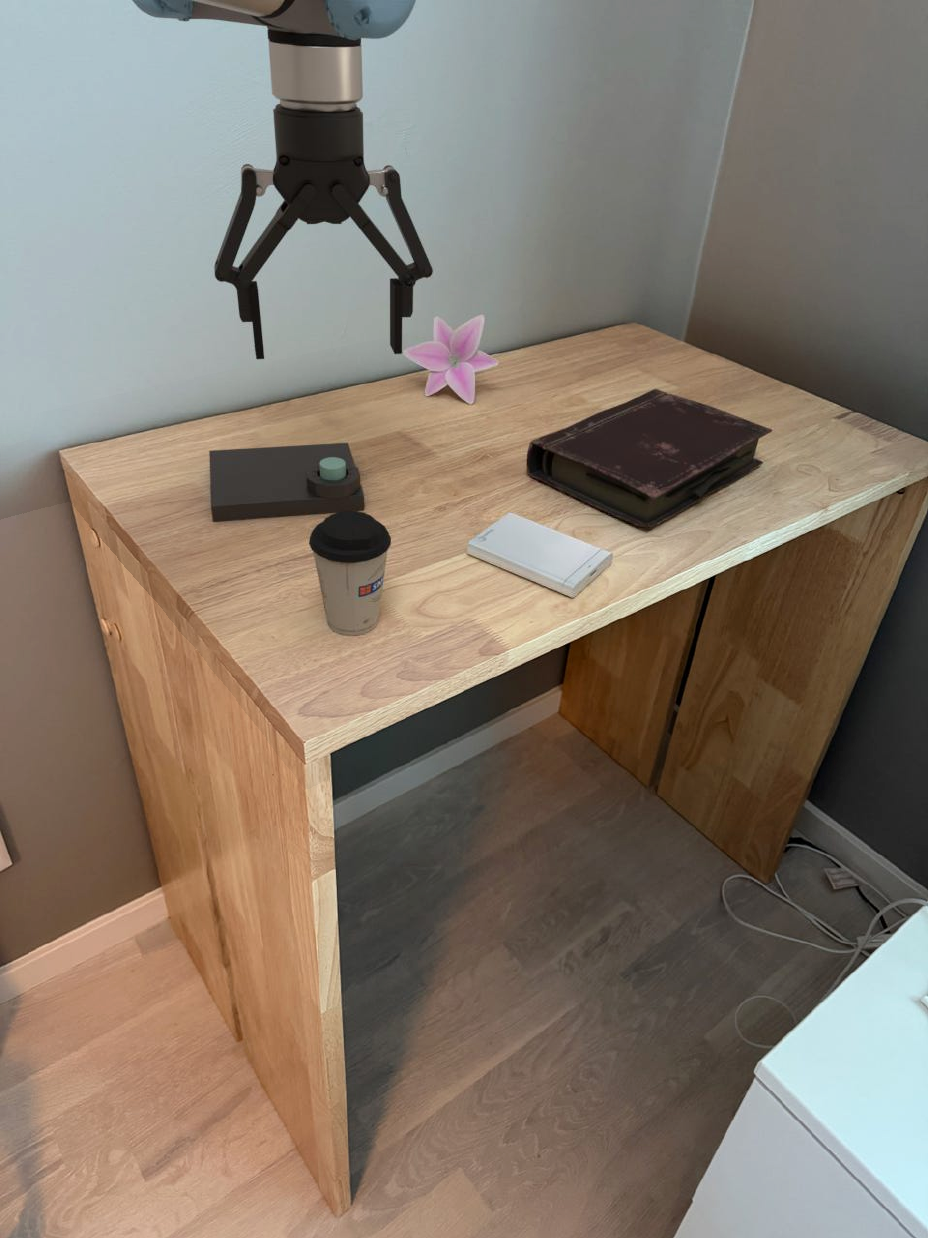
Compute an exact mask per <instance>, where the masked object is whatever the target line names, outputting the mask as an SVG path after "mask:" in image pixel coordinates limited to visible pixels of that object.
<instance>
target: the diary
mask: <svg viewBox="0 0 928 1238" xmlns="http://www.w3.org/2000/svg"><path fill="white" fill-rule="evenodd" d="M772 432H773V429H772V428H770V427H767V426H763V425H761V424H758V423H756V422H754V421H751V420H748V419H745V418H743V417H740V416H738V415H735V414H733V413H730V412H727V411H724V410H722V409H719V408H717V407H714V406H711V405H708V404H705V403H702V402H698V401H695V400H692V399H690V398H689V399H688V398H686V397H683V396H679V395H676V394H672V393H668V392H667V391H663V390H661V389H658V388H654V389H651V390H649V391H647V392H645V393H643V394H640V395H639V396H636V397H634V398H632V399H630V400H628V401H626V402H622V403H621V404H618V405H615V406H612V407H610V408H607V409H605V410H602V411H599V412H596V413H594V414H592V415H591V416H588V417H586V418H584V419H582V420H580V421H578V422H576V423H573V424H571V425H569V426H567V427H565V428H562V429H559V430H557V431H554V432H551V433H548V434H546V435H543V436H540V437H537V438H535V439H533V440H531V441H530V442H529V445H528V447H527V452H526V462H525V463H526V473H527V475H528V476H529V477H531V478H534V479H535V480H538V481H542V483H543V484H546V485H549V486H551V487H553V488H555V489H557V490H559V491H560V492H563V493H565V494H567V495H569V496H570V497H573V498H575V499H577V500H580V501H581V502H583V503H586V504H588V505H590V506H593V507H594V508H596V509H599V510H601V511H603V512H605V513H607V514H609V515H610V516H614V517H616V518H619V519H620V520H623V521H626V522H629V523H631V524H633V525H635V526H638V527H641V528H642V527H643V528H653V527H655V526H657V525H659V524H661V523H663V522H665V521H666V520H668V519H670V518H673V517H674V516H676V515H678V514H680V513H682V512H683V511H684V510H686V509H687V508H689V507H691V506H692V505H693V504H695V503H696V502H698V501H700V500H702V499H703V498H704V497H706V496H707V495H709V494H712V493H715V492H716V491H718V490H721V489H723V488H725V487H727V486H729V485H733V484H734V483H735V482H737V481H739V480H740V479H741V478H743V477H744V476H746V475H748V474H749V473H750V472H752V471H754V470H755V469H757V468H758V467H760V466H761V465H763V464H764V462H763V461H762V460H760V459H757V458H755V454H756V451H757V447H758V443H759V440H760V439H761V438H763V437H765V436H767V435H769V434H770V433H772Z"/></svg>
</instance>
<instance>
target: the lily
mask: <svg viewBox="0 0 928 1238" xmlns="http://www.w3.org/2000/svg"><path fill="white" fill-rule="evenodd" d="M485 319H486V318H485V315H483V314H480V315H477V316H475V317H473V318H471V319H469V320H467V321H466V322H465V323H463V324H461V325H460V326H458V327H457V328H456V329H455V330H453V329H452V327H451V326H450V325H449V324H448V323H447V322H445V321H444V320H443V318H441V317H440V316H434V319H433V340H428V341H425V342H421V343H417V344H415V345H412V346H409V347H408V348H405V349H404V350H403V351H402V354H403V356H404V357H405V358H407V359H408V360H410V361H411V362H413V363H415V364H417V365H419V366H420V367H421V368H424V369H426V370H428V371H429V374H428V376H427V379H426V384H425V389H424V395H425V397H430V396H432V395H434V394H435V393H437V392H439V391H440V390H442V389H443V388H444V387H445V388H446V386H447V385H448V387H450V389H451V390H452V391H454V393H455V394H456V395H458V397H459V398H461V399H462V400H463V401H464V402H465V403H467V404H468V405H473V404H474V402H475V398H476V397H475V395H476V374H475V373H476V372H480V371H484V370H488V369H491V368H494V367H496V366H498V365H499V364H500V363H499V361H498V360H497V359H496V358H495V357H493V356H491V355H490V354H488V353H486V352H485V351H482V350H480V349H478V348H479V346H480V344H481V343H480V342H481V338H482V335H483V331H484V326H485Z"/></svg>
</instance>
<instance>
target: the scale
mask: <svg viewBox="0 0 928 1238" xmlns="http://www.w3.org/2000/svg"><path fill="white" fill-rule="evenodd" d="M208 453H209V454H208V456H209V457H208V458H209V488H210V489H209V490H210V491H209V492H210V493H209V494H210V509H211V517H212V522H226V521H239V520H253V519H263V518H264V519H265V518H280V517H291V516H293V517H294V516H305V515H318V514H330V513H331V514H334V513H338V512H344V511H357V512H360V511H365V493H364V490H363V487H362V484H361V473H360V470H359V467H357V466H356V464H355V461H354V457H353V455H352V454H353V453H352V451H351V448H350V445H349V443H348V442H336V443H335V442H334V443H333V442H332V443H318V444H317V443H315V444H301V445H298V444H297V445H283V446H282V445H281V446H265V447H252V448H251V447H248V448H231V449H214V450H209V451H208ZM329 457H336V458H341V459H343V460H344V461H345V463H346V477H345V478H343V479H340V480H325V479H322V478H321V477H320V466H319V463H320V461H321V460H323V459H325V458H329Z"/></svg>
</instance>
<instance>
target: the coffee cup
mask: <svg viewBox="0 0 928 1238" xmlns="http://www.w3.org/2000/svg"><path fill="white" fill-rule="evenodd" d="M308 544H309V547H310V549H311V551H312V552H313V557H314V563H315V568H316V572H317V577H318V582H319V587H320V593H321V597H322V602H323V607H324V613H325V617H326V623H327V625H328V627H329V629H331V630H332V631H333V632H335V633H337V634H339V635H343V636H361V635H364V634H365V635H366V634H367V633H370V632H371V631H372V630H373V629H375V628H376V626H377V625H378V622H379V616H380V610H381V609H380V608H381V602H382V601H381V600H382V595H383V594H382V593H383V587H384V579H385V573H386V564H387V557H388V550H389V548H390V547H391V545H392V536H391V535H390V533H389V531H388V529H387V527H386V526H385V525H384V524H382V523H381V522H380V521H378V520H376V518H374V517H373V516H372V515H371V514H368V513H366V512H362V511H344V512H334V513H331V514H330V515H328V516H327V517H325V518H324V520H323V521H321V522H320V523H318V524H316V526H315V527H314V528H313V529H312V532H311V534H310V536H309V540H308Z"/></svg>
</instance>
